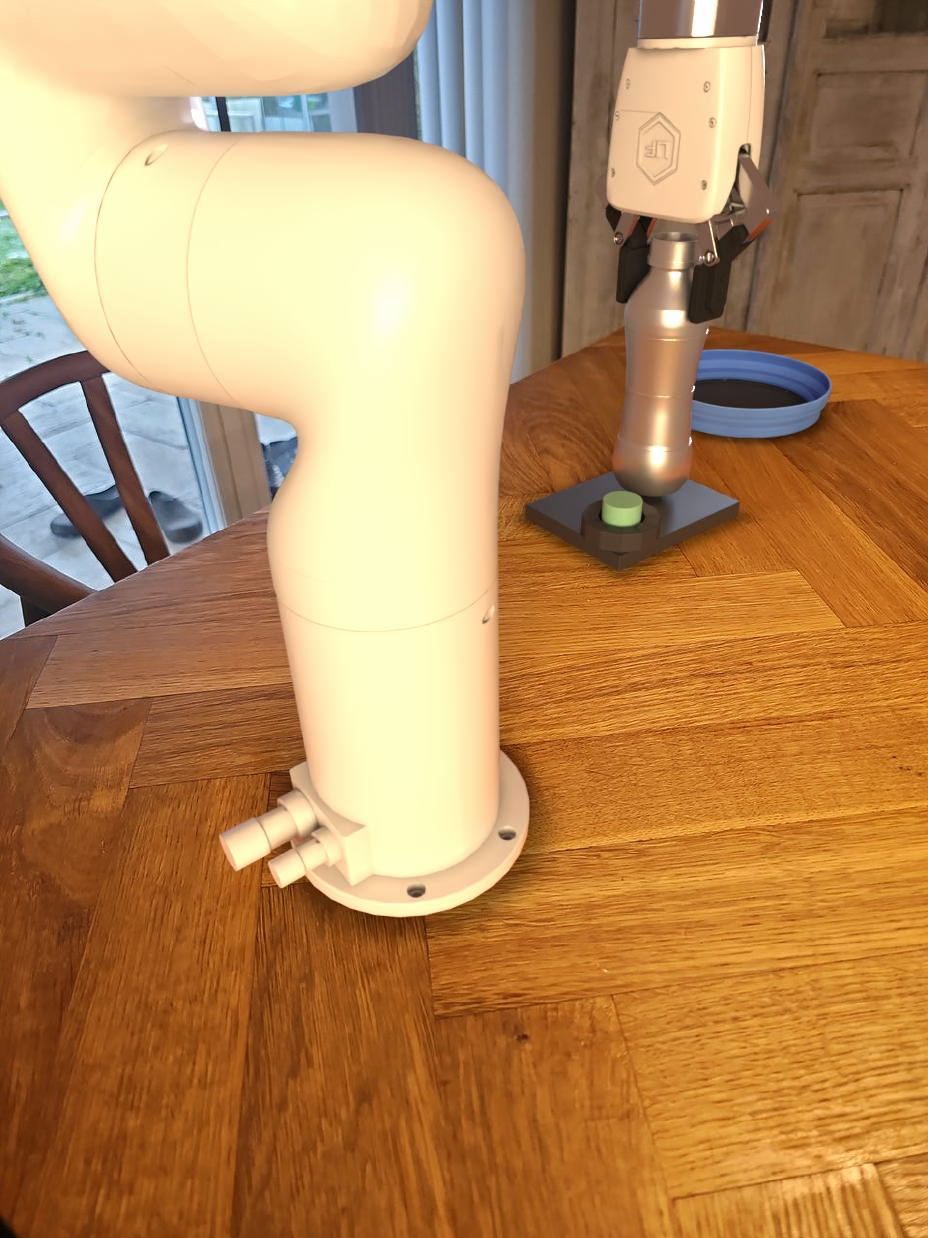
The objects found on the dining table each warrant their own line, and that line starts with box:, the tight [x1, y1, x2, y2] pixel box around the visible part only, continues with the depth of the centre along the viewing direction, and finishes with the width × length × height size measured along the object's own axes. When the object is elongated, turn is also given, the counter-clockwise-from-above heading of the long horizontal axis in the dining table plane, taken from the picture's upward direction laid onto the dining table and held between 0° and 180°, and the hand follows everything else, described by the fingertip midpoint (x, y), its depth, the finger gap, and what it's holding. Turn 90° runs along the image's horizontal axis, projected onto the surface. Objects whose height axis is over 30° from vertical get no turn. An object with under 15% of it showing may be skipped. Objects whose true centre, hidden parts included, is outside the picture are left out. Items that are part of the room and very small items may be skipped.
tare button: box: [602, 491, 643, 527], centre depth 65 cm, size 3×3×2 cm
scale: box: [525, 470, 741, 572], centre depth 70 cm, size 14×11×3 cm
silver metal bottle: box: [611, 231, 711, 496], centre depth 67 cm, size 6×7×20 cm
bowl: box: [691, 348, 833, 439], centre depth 89 cm, size 18×18×4 cm
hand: (668, 307), depth 64 cm, fingers closed on silver metal bottle, 6 cm apart
